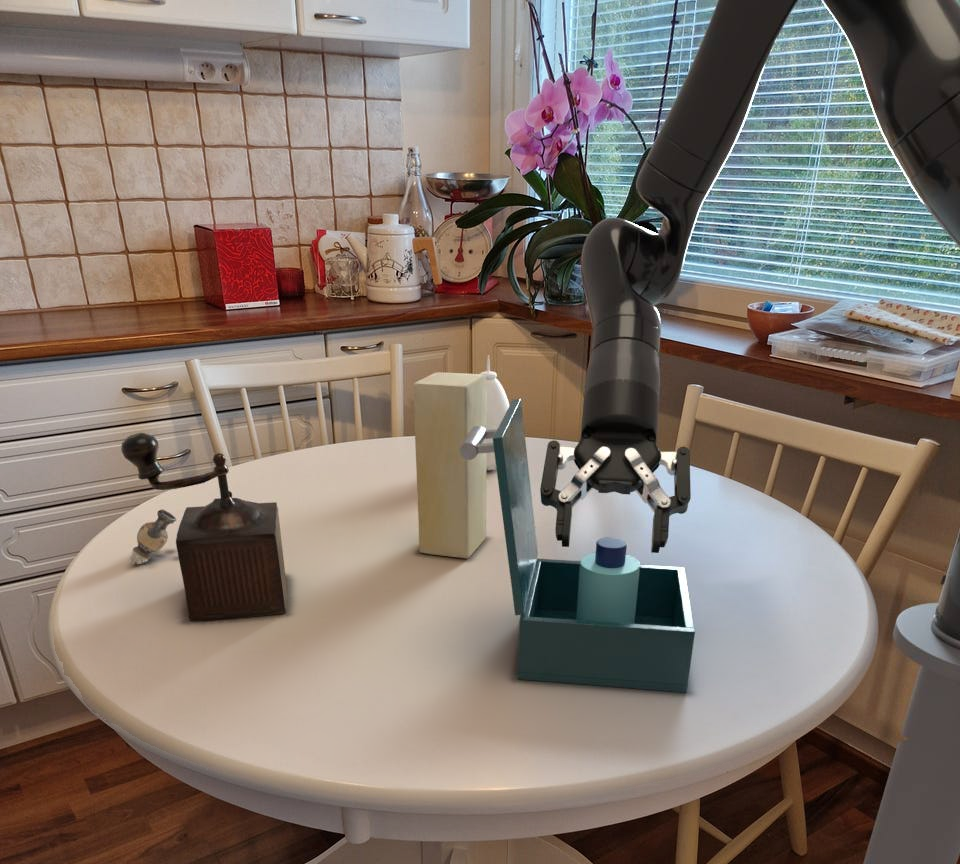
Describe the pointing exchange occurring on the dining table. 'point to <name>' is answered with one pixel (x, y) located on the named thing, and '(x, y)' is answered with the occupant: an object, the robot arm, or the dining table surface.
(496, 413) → the sauce bottle
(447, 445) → the toy refrigerator
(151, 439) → the manual coffee grinder
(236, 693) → the dining table surface
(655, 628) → the teal open box
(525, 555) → the teal box lid
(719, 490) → the dining table surface
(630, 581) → the water bottle
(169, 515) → the vase
